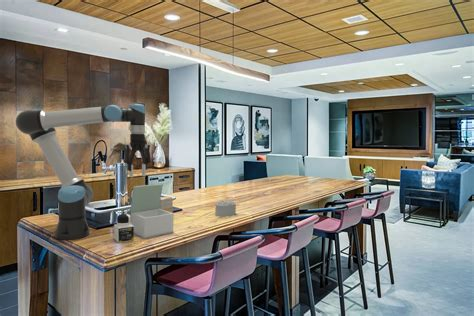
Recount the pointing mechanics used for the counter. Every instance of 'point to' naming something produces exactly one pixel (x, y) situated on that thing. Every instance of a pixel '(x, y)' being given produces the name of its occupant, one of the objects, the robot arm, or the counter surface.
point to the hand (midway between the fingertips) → (137, 176)
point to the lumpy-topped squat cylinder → (225, 208)
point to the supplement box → (166, 204)
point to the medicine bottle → (123, 229)
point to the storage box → (152, 223)
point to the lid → (146, 197)
